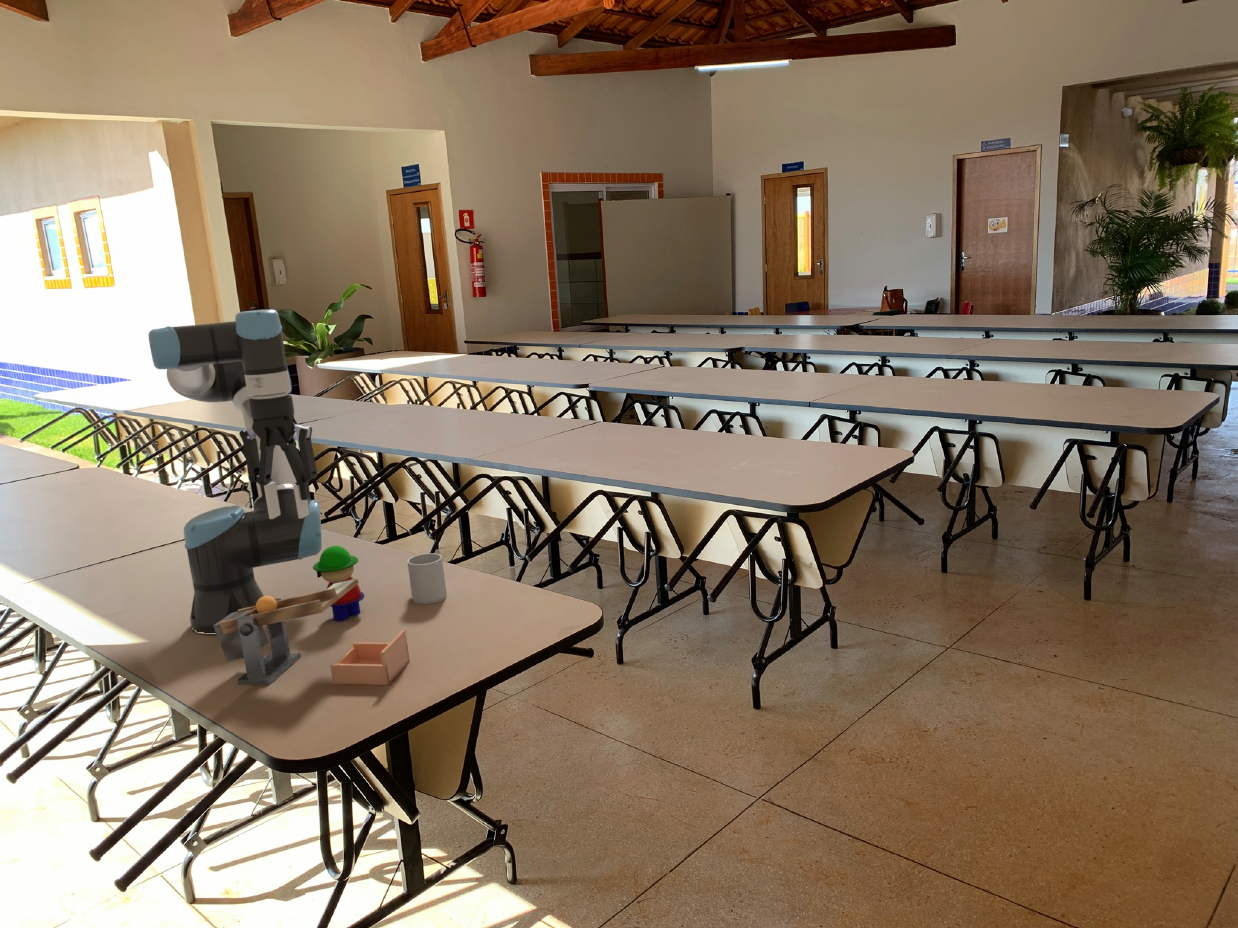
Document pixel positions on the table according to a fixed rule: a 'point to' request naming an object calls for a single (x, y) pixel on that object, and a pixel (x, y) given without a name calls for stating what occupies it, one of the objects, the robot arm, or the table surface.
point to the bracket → (255, 665)
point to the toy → (340, 580)
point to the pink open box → (372, 662)
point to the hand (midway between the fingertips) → (289, 516)
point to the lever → (277, 616)
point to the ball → (266, 604)
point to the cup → (427, 578)
